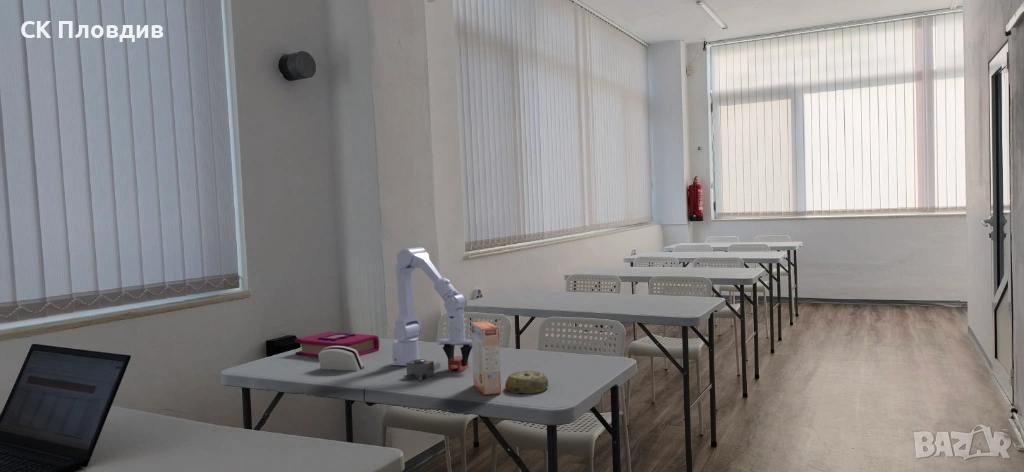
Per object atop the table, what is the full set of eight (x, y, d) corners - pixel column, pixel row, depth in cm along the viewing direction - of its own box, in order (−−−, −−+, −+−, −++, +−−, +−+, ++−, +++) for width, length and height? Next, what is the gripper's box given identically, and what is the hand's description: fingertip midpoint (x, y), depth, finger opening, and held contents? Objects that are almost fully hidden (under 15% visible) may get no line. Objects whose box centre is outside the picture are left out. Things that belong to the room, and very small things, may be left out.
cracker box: (502, 393, 216) (499, 326, 215) (483, 396, 215) (480, 328, 214) (490, 383, 230) (488, 320, 229) (473, 385, 228) (470, 321, 227)
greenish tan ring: (557, 389, 220) (556, 373, 219) (522, 397, 212) (522, 381, 212) (531, 381, 231) (530, 366, 231) (497, 389, 223) (496, 373, 223)
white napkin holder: (366, 367, 260) (359, 344, 256) (359, 374, 256) (353, 351, 252) (328, 365, 266) (321, 343, 262) (321, 372, 262) (314, 349, 258)
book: (332, 346, 306) (331, 329, 306) (380, 351, 291) (379, 333, 291) (294, 356, 288) (293, 337, 288) (342, 362, 273) (341, 342, 273)
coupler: (429, 366, 257) (428, 351, 257) (448, 368, 254) (447, 352, 254) (402, 379, 239) (401, 363, 239) (422, 381, 236) (421, 364, 236)
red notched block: (448, 371, 249) (447, 360, 249) (457, 366, 255) (456, 355, 255) (460, 371, 247) (459, 360, 247) (468, 367, 254) (468, 356, 254)
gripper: (433, 329, 250) (435, 366, 250) (470, 330, 244) (471, 368, 245) (442, 325, 256) (444, 362, 257) (478, 326, 251) (480, 364, 251)
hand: (458, 365), depth 251 cm, fingers closed on red notched block, 5 cm apart
